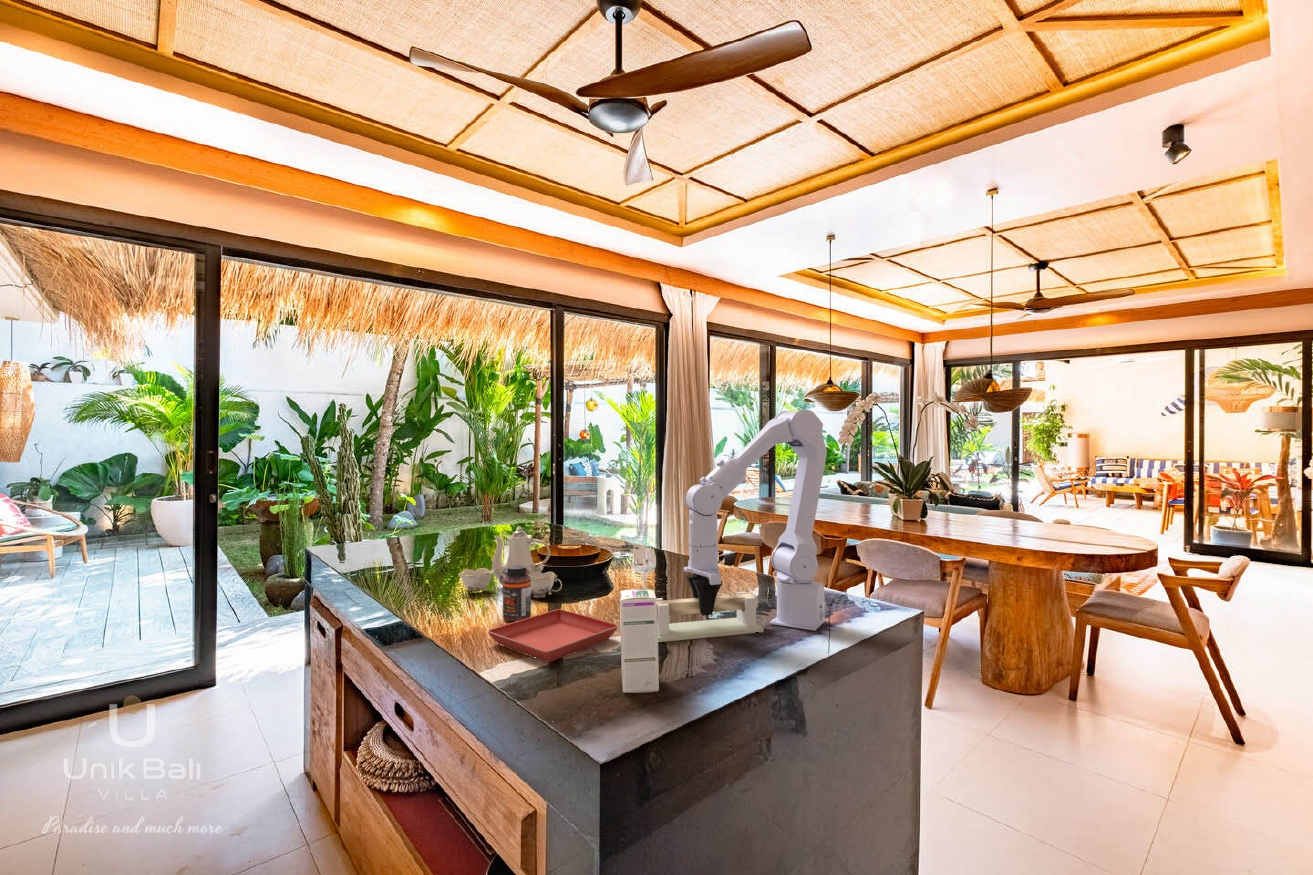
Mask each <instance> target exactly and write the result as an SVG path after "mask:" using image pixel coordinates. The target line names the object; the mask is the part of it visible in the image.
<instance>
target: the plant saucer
mask: <svg viewBox="0 0 1313 875" xmlns="http://www.w3.org/2000/svg"><path fill="white" fill-rule="evenodd" d="M618 628H619V624H616V623H612V622H609V621H607V620H606V621H605V620H602V619H598V618H595V617H592V616H588V615H584V614H580V613H577V612H573V611H569V610H565V609H559V608H557V609H553V610H551V611H547V612H543V613H541V614H537V615H533V616H531V617H530V618H526V619H523V620H520V621H517V622H509V623H507V624H504V625H501V626H497V627H494V628H491V629H488V630H487V633H488V634H489V636H490V637H491V639H493V640H494V641H495V642H496V643H497V644H498V643H499V644H498V645H500V644H502V645H504V646H506V647H505V648H507V647H509V648H512V649H514V650H513V651H515V650H517V651H516V652H518V651H519V652H518V653H520V652H523V653H526V654H528V655H527V656H529V655H531V656H533V657H532V658H534V657H536V658H535V659H537V658H538V660H539V659H541V660H540V661H542V660H544V661H543V662H545V661H546V662H545V663H551V662H554V661H557V660H559V658H560V659H562V658H564V657H567V655H568V656H570V655H573V654H575V652H576V653H577V652H581V651H583V650H587V649H590V648H591V647H594V645H595V646H597V645H599V644H602V642H603V643H605V642H607V640H609V638H611V637H612V635H614V633H615V632H616V631H617V630H618ZM504 646H503V647H504ZM509 648H508V649H509ZM512 649H511V650H512ZM523 653H522V654H523ZM572 653H573V654H572ZM526 654H525V655H526ZM531 656H530V657H531Z"/></svg>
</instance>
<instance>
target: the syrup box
mask: <svg viewBox="0 0 1313 875" xmlns="http://www.w3.org/2000/svg"><path fill="white" fill-rule="evenodd" d="M656 598H657V597H656V593H655V589H653V588H645V589H644V588H632V589H625V590H620V591H619V616H620V617H619V618H620V619H619V621H620V623H619V624H620V626H619V627H620V654H621V656H620V658H621V663H620V664H621V684H622V686H621V687H622V692H623V693H624V694H625V693H630V694H631V693H632V694H633V693H634V694H635V693H636V694H637V693H638V694H639V693H654V692H655V693H656V692H659V690H660V681H659V680H660V679H659V678H660V677H659V676H660V675H659V671H660V670H659V663H660V662H659V642H658V630H657V600H656Z"/></svg>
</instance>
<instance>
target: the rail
mask: <svg viewBox="0 0 1313 875" xmlns="http://www.w3.org/2000/svg"><path fill="white" fill-rule="evenodd" d="M745 597H755V598H756V609H758V608H759V604H758V600H759V599H758V598H759V596H758V595H756V594H754V593H752V592H751V593H747V594H738V595H736V594H728V595H717V596H716V600H715V604H714V609H713V613H716V612H717V613H718V612H726V611H727V612H728V611H737V610H741V609H745ZM658 604H668V605H669V617H671V616H682V615H695V614H701V612H700V606H699V599H698V598H694V597H691V598H679V599H677V598H676V599H666V600H664V599H663V601H657V617H658Z"/></svg>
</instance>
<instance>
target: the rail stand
mask: <svg viewBox="0 0 1313 875" xmlns="http://www.w3.org/2000/svg"><path fill="white" fill-rule="evenodd" d="M738 594H748V592H747V591H736V594H735V595H738ZM656 600H657V601H664V599H663V597H660V598H657V597H656ZM657 630H658V643H662V642H664V643H665V642H675V641H683V640H685V641H686V640H693V639H695V640H696V639H703V638H704V639H705V638H714V637H715V638H717V637H726V636H727V637H728V636H736V635H747V634H756V633H755V632H759V633H764V626H761V625H760V624H759V623H757V608H756V598H755V597H745V609H741V610H736V617H729V618H728V617H727V618H716V619H707V620H695V621H693V620H692V621H683V622H673V623H670V616H669V605H668V604H658V617H657Z"/></svg>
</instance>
